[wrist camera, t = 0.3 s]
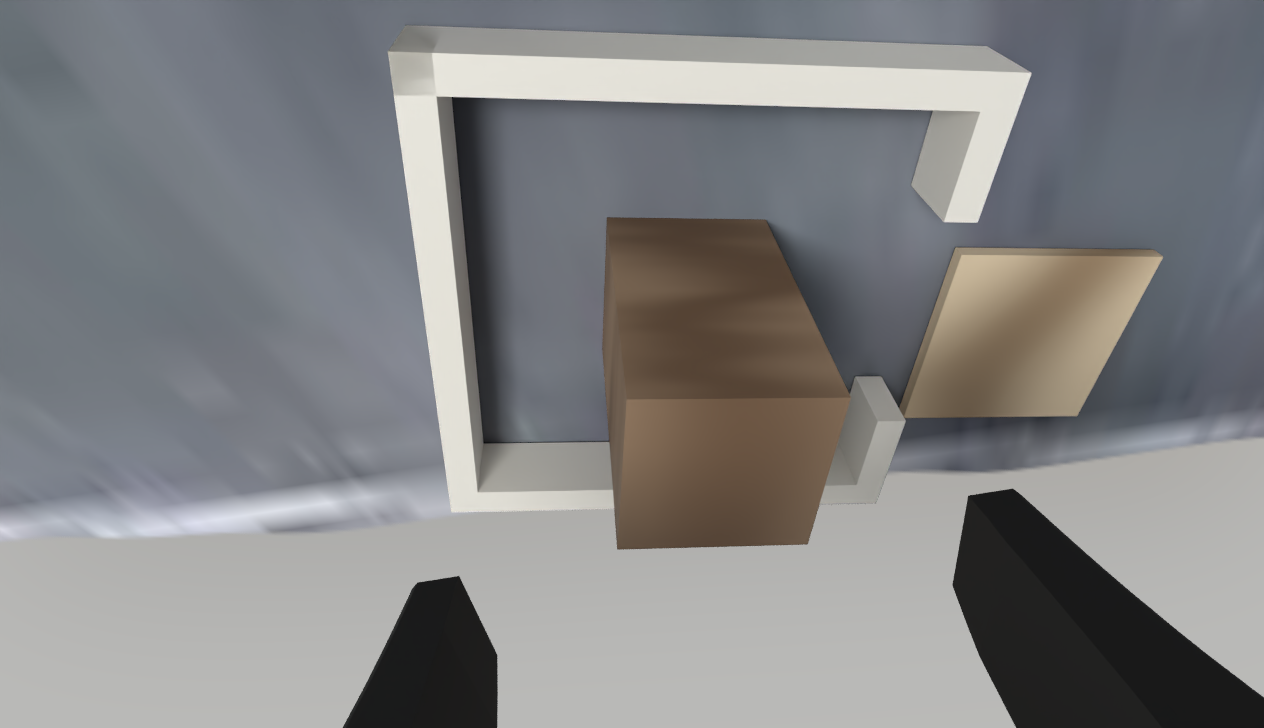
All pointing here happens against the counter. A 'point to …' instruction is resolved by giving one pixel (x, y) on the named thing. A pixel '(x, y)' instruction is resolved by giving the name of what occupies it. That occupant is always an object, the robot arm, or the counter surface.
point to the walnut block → (713, 387)
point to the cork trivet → (1024, 330)
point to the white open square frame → (664, 73)
